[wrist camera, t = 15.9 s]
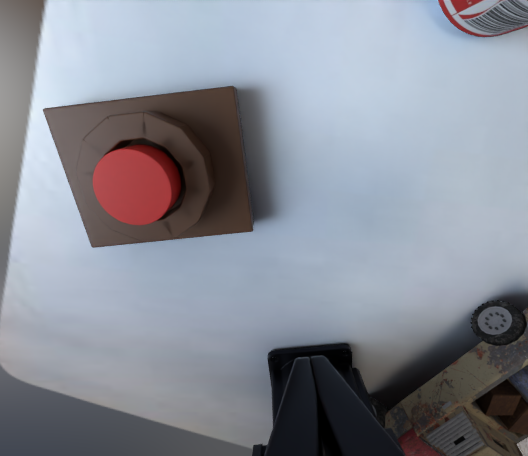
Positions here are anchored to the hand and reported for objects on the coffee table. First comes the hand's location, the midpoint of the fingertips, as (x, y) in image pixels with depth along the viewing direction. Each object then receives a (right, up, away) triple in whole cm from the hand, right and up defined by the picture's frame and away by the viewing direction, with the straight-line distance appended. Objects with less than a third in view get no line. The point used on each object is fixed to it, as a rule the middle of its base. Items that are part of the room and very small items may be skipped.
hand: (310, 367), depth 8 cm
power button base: (-7, +8, +10) cm, 14 cm away
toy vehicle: (+14, -8, +16) cm, 23 cm away
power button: (-7, +6, +7) cm, 12 cm away
